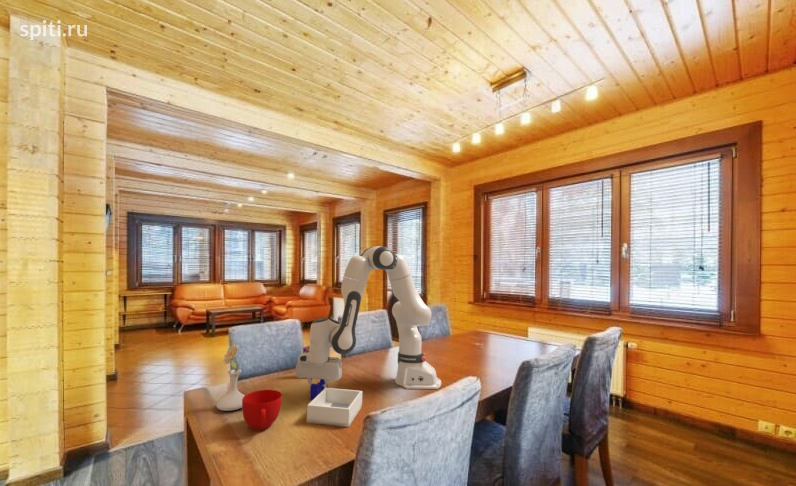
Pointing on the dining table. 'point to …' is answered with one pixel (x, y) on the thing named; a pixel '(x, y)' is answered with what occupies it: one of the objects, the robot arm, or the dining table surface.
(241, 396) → the flower in vase
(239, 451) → the dining table surface
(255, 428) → the ceramic cup
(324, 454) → the dining table surface
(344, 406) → the walled box
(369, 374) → the dining table surface
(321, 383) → the blue curved block
